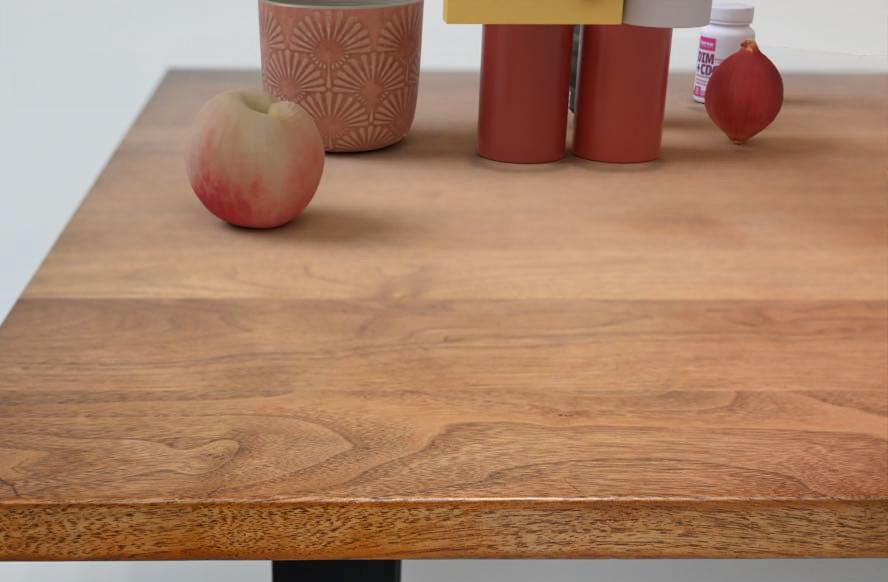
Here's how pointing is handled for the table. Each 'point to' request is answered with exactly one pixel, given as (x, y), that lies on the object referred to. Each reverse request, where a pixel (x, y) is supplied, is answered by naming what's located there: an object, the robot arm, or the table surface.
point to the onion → (744, 93)
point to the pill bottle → (721, 40)
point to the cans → (596, 97)
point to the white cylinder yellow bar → (580, 12)
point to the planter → (345, 66)
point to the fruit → (254, 158)
